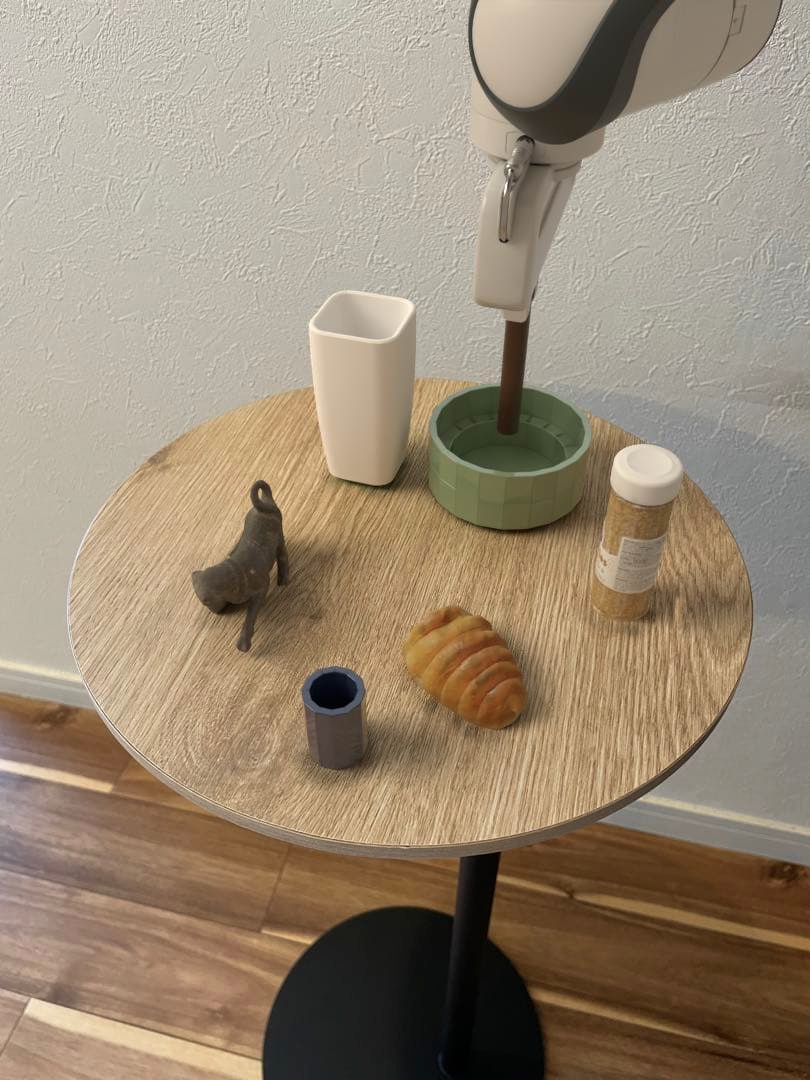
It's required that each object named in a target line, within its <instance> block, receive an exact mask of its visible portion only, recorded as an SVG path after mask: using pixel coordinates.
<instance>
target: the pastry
mask: <svg viewBox="0 0 810 1080" xmlns="http://www.w3.org/2000/svg"><path fill="white" fill-rule="evenodd" d="M401 655H402V657H403V660H404V663H405V665H406V668H407V671H408V674H409V675H410V677H411V679H412V680H413V681H414V682H415V683H416V685H417V686H418V687H419V688H420V689H422V690H423V691H424V692H425V693H427V694H428V695H430V696H431V697H432V698H433V699H434V700H435V701H436V702H438V703H439V704H440V705H442V706H444V707H445V708H446V709H448V710H449V711H451V712H453V713H455V714H456V715H457V716H459V717H460V718H462V719H463V720H465V721H466V722H468V723H470V724H472V725H474V726H478V727H482V728H485V729H489V730H502V729H504V728H505V727H507V726H510V725H511V724H513V723H515V722H516V720H517V719H518V717H519V716H520V715H521V714H522V712H523V711H524V710H525V708H526V705H527V700H528V696H529V692H528V690H527V689H526V685H525V683H524V680H523V672H522V670H521V669H519V668H518V666H517V662H516V660H515V657H514V654H513V652H512V651H510V649H509V647H508V643H507V642H506V641H505V640H504V639H503V637H501V635H500V634H499V633H498V632H497V631H495V630H493V625H492V623H491V622H490V621H489V620H488V619H486V618H485V617H484V616H481V615H478V614H476V615H473V613H472V612H469V611H468V610H466V609H464V608H463V607H462V606H461V605H458V604H450V605H446V606H443V607H440V608H438V609H436V610H433V611H431V612H429V613H428V614H427V615H426V616H425V617H424V618H423V619H422V620H421V621H419V622H417V623H416V624H415V625H414V626H413V628H412V629H411V630H410V632H409V633H408V634H407V636H406V639H405V640H404V642H403V644H402V645H401Z"/></svg>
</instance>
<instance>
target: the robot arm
mask: <svg viewBox="0 0 810 1080" xmlns="http://www.w3.org/2000/svg"><path fill="white" fill-rule="evenodd" d="M783 1H784V0H471V1H470V6H469V10H468V12H469V13H468V19H467V21H468V22H467V41H468V51H469V52H468V53H469V57H470V62H471V65H472V66H471V67H472V68H471V87H470V88H471V89H470V107H469V126H468V127H469V129H468V138H469V141H470V142H471V144H472V145H473V146H474V147H475V148H476V149H477V150H479V151H480V152H482V153H484V154H486V166H487V168H488V169H489V170H490V171H491V172H492V174H491V176H490V177H489V180H488V181H487V182H486V185H485V187H484V191H483V194H482V198H481V203H480V208H479V215H478V224H477V230H476V231H477V233H476V242H475V251H474V252H475V254H474V262H473V263H474V265H473V276H472V295H473V300H474V302H475V304H476V305H478V306H479V307H484V308H489V309H496V310H502V317H503V319H504V320H505V321H506V320H507V321H514V322H520V323H521V322H524V321H526V319H527V317H528V314H529V311H530V306H531V307H532V305H531V297H532V302H533V300H534V299H535V298H536V296H537V293H538V290H539V283H540V275H541V272H542V269H543V267H544V265H545V263H546V262H545V261H546V258H547V257H548V254H549V251H550V248H551V246H552V244H553V241H554V239H555V236H556V233H557V230H558V228H559V226H560V223H561V221H562V217H563V215H564V212H565V209H566V207H567V204H568V202H569V199H570V196H571V195H572V191H573V188H574V184H575V181H576V178H577V174H578V173H579V172H580V171H581V168H582V162H583V160H584V159H586V158H587V159H588V158H589V157H591V156H594V155H595V154H596V153H598V152H599V151H600V150H601V149H602V147H603V146H604V142H605V135H606V129H607V128H606V127H607V126H608V125H610V124H612V123H613V122H614V121H616V120H620V119H622V118H625V117H627V116H631V115H633V114H636V113H639V112H643V111H644V110H647V109H650V108H652V107H655V106H658V105H661V104H664V103H667V102H671V101H673V100H675V99H678V98H680V97H682V96H685V95H687V94H691V93H694V92H696V91H699V90H701V89H704V88H706V87H709V86H711V85H713V84H716V83H718V82H721V81H723V80H725V79H727V78H728V77H730V76H732V75H734V74H737V73H738V72H740V71H742V70H743V69H744V68H747V66H748V65H750V64H751V63H752V62H753V61H754V60H755V59H756V58H757V57H758V56H759V55H760V53H761V52H762V51H763V50H764V48H765V47H766V45H767V44H768V42H769V40H770V38H771V36H772V35H773V32H774V30H775V28H776V26H777V23H778V20H779V17H780V14H781V10H782V8H783V7H782V5H783ZM532 294H533V296H532Z"/></svg>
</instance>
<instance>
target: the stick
mask: <svg viewBox="0 0 810 1080" xmlns="http://www.w3.org/2000/svg"><path fill="white" fill-rule="evenodd" d="M532 296H533V294H532ZM532 306H533V301H532V297H531V306H530V311H529V314H528V317H527V319H526V321H524V322H521V323H520V322H514V321H507V320H506V319H505V322H504V323H505V324H504V325H505V326H504V335H503V336H504V337H503V347H502V348H503V349H502V360H501V373H500V382H499V383H500V395H499V407H498V418H497V431H498V432H499V433H501V434H503V435H514V434H516V433H517V432H518V430H519V422H520V412H521V403H522V393H523V384H524V383H525V374H526V373H525V372H526V363H527V353H528V343H529V334H530V324H531V315H532Z"/></svg>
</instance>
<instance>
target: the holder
mask: <svg viewBox="0 0 810 1080" xmlns="http://www.w3.org/2000/svg"><path fill="white" fill-rule="evenodd" d="M300 694H301V702H302V703H301V704H302V713H303V721H304V730H305V739H306V740H305V741H306V747H307V751H308V756H309V757H310V758H311V759H312V761H313V762H314V763H315V764H317V765H318V766H320V767H321V768H324V769H328V770H344V769H348V768H350V767H353V766H355V765H356V764H357V763H358V762H359V761H361V760H362V758H364V756H365V754H366V752H367V748H368V746H369V738H368V736H369V735H368V717H367V716H368V712H367V690H366V686H365V682H364V680H363V678H362V677H361V676H360V675H359V674H358V673H356V672H355V671H354V670H353V669H351V668H347V667H342V666H339V665H331V666H326V667H322V668H318V669H317V670H315V671H314V672H312V673H311V674H310V675H308V676H307V677H306V679H305V680H304V683H303V685H302V687H301V690H300Z"/></svg>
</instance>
